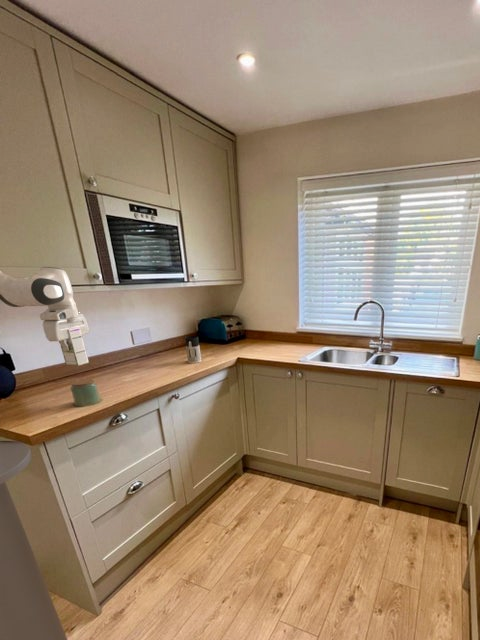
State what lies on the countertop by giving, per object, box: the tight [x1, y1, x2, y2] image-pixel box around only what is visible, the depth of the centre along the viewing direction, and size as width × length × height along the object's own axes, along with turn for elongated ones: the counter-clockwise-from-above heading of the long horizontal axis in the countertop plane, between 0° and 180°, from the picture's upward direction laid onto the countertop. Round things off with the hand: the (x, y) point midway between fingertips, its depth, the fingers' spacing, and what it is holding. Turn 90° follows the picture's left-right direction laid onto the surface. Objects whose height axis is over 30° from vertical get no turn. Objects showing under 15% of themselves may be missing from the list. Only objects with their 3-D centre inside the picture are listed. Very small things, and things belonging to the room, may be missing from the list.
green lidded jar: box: [69, 378, 101, 407], centre depth 137 cm, size 9×9×9 cm
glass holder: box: [184, 335, 203, 364], centre depth 199 cm, size 9×14×15 cm, turn 10°
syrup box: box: [60, 327, 89, 366], centre depth 130 cm, size 6×6×14 cm
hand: (73, 348), depth 131 cm, fingers closed on syrup box, 6 cm apart
